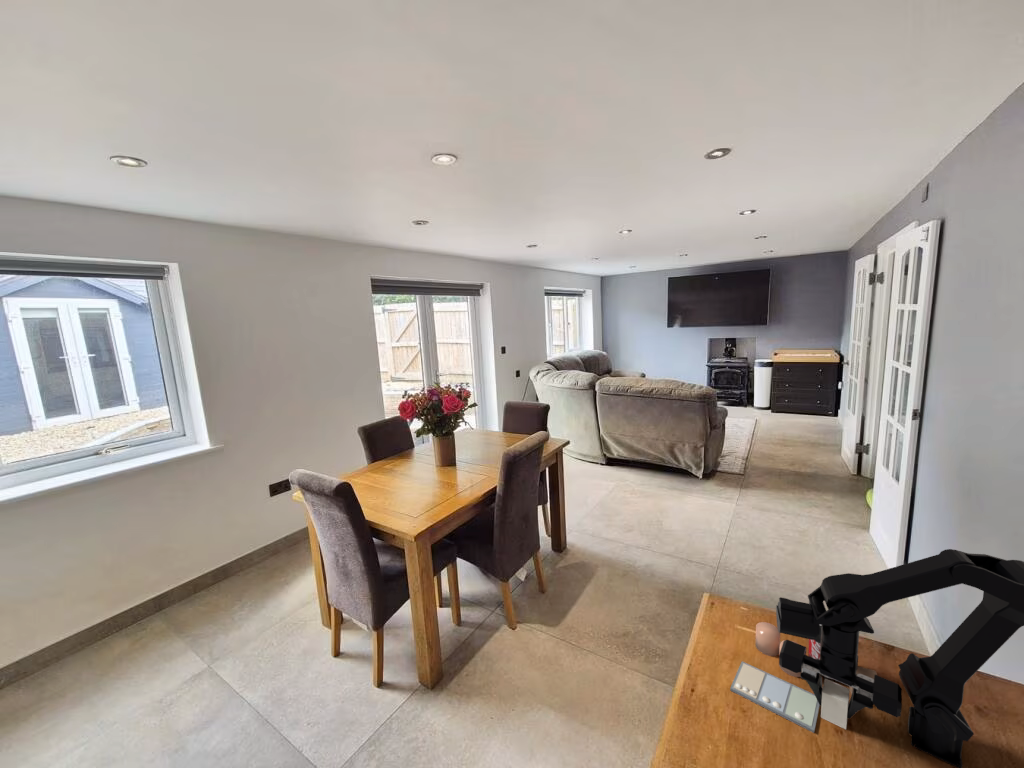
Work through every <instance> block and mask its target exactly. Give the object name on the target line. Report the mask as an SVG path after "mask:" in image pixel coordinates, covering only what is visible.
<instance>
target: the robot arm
mask: <svg viewBox="0 0 1024 768" xmlns="http://www.w3.org/2000/svg"><path fill="white" fill-rule="evenodd" d="M959 585H965V586H969V587H972V588H975V589H978V590H979V591H982V592H983V594H982V595H983V596H982V600H981V601H980V602H979V604H978V605H977V606H976V607H975V608H974V609H973V610H972V611H971V612H970V613H969V614H968V616H966V618H965V619H964V620H963V621H962V622H961V624H960V625H958V626H957V628H956V629H955V630H954V631H953V632H952V633H951V634H950V636H949V637H948V638H946V639H945V640H944V642H943V643H942V644H941V645H940V646H939V647H938V648H937V649H936V651H934V653H933V654H932V655H930V656H925V657H919V656H918V655H916V654H914V653H912V652H910V654H908V656H907V658H906V659H905V661H903V662H902V663H900V664H898V667H899V672H898V676H899V679H900V681H901V683H902V685H903V688H904V690H905V692H906V693H907V696H908V697H909V700H910V702H911V704H912V706H909V709H908V710H909V711H908V720H907V733H908V735H909V736H910V739H911V740H910V745H911V746H912V747H913V748H915V749H917V750H919V751H921V752H923V753H926V754H928V755H930V756H933V758H937V759H938V760H940V761H943V762H945V763H947V764H950V765H951V766H954V767H956V768H963V759H962V752H963V751H962V750H963V744H964V741H965V742H969V740H970V739H971V738H972V737H973V736H974V735H975V733H974V732H973V729H972V728H971V726H970V724H969V723H968V722H967V720H966V718H965V716H964V715H963V713H962V712H961V710H960V708H961V707H962V705H963V702H964V701H963V700H964V693H965V692H964V690H965V685H966V683H967V682H968V681H969V680H970V679H971V678H972V677H973V676H974V675H975V674H976V673H977V672H978V670H980V669H981V668H982V667H983V665H985V664H986V662H988V660H989V659H991V657H992V656H993V655H994V654H995V653H997V651H999V650H1000V648H1002V647H1003V646H1004V644H1006V642H1007V641H1008V640H1009V639H1010V638H1012V636H1014V634H1015V633H1016V632H1017V631H1018V630H1019V629H1020V628H1022V627H1024V561H1023V560H1019V559H1008V560H1007V559H1004V558H1001V557H998V556H993V555H989V554H985V553H982V554H981V553H969V552H964V551H961V550H957V549H951V548H950V549H949V548H948V549H944V550H941V551H940V552H939V553H938V554H936V555H932V556H931V555H930V556H929V557H925V558H922V559H918V560H914V561H910V562H907V563H905V564H901V565H896V566H895V567H890V568H887V569H884V570H880V571H877V572H873V573H869V574H859V573H858V574H857V573H849V572H848V573H842V574H834V575H829V576H827V577H825V578H824V579H822V581H821V584H820V585H819V586H818V587H817V588H816V589H814V590H813V591H812V592H811V593H809V594H808V595H807V599H808V603H807V602H802V601H796V600H792V599H789V598H786V597H779V598H778V599H779V600H778V602H777V604H776V606H775V607H776V608H775V609H776V615H775V616H776V627H777V628H778V632H779V633H780V634H784V635H789V636H792V637H797V638H802V639H806V640H809V639H810V640H815V642H817V643H820V659H814V658H812V657H809V656H808V655H807V647H806V646H804V645H802V644H800V643H798V642H796V641H794V642H792V641H793V640H789V639H784V640H785V641H784V640H783V641H784V642H783V645H782V648H781V651H780V656H779V655H778V665H779V664H780V665H781V667H783V668H786V669H788V670H790V671H792V672H795V673H799V672H801V674H800V676H801V677H800V678H801V679H802V680H804V681H805V682H806V683H807V684H808V686H809V688H810V689H811V691H812V692H813V694H815V697H816V699H817V701H818V703H819V705H820V706H819V707H821V704H822V690H823V677H822V675H825V676H827V677H829V678H828V679H830V678H832V679H831V680H835V681H836V682H839V683H842V684H844V685H846V686H848V687H849V686H851V687H853V691H852V695H851V694H850V697H849V706H848V712H847V720H851V719H852V717H854V716H855V715H856V714H857V713H858V712H859V711H861V710H863V709H865V708H866V709H869V710H873V708H874V707H875V708H876V709H877V710H880V711H881V712H883V713H886V714H888V715H890V716H893V717H895V718H901V716H902V707H903V705H902V703H903V688H902V687H901V685H900V684H899V683H897V682H894V681H892V680H890V679H887V678H885V677H882V676H880V675H878V674H877V675H874V679H872V678H870V677H868V676H865V675H863V674H856V670H857V668H858V666H859V665H858V664H859V655H858V654H859V641H860V639H859V638H860V632H862V633H867V634H872V635H873V634H875V630H874V629H873V626H872V624H871V622H870V620H869V617H871V616H873V615H875V614H876V613H877V612H878V611H879V610H880V609H881V607H882V606H884V605H886V604H888V603H893V602H897V601H900V600H904V599H908V598H911V597H916V596H920V595H923V594H927V593H931V592H934V591H935V592H936V591H939V590H943V589H947V588H951V587H953V586H959ZM825 605H826V606H825ZM820 625H822V626H820ZM795 642H796V643H795ZM797 643H798V644H797ZM805 654H806V655H805ZM827 677H826V678H827ZM873 704H874V705H873Z"/></svg>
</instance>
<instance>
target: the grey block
mask: <svg viewBox="0 0 1024 768" xmlns="http://www.w3.org/2000/svg"><path fill="white" fill-rule="evenodd" d="M822 686H823V690H822V704H821V706H820V718H821V719H823V720H825V721H828V722H829V723H831V724H833V725H836V726H838V727H840V728H841V729H844V730H847V725H848V718H847V712H848V706H849V702H850V694H851V691H850V688H849V687H846V686H844V685H842V684H839V683H837V682H836V681H835V682H834V681H833V680H830V679H829V678H827V677H824V681H823V684H822Z"/></svg>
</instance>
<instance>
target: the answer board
mask: <svg viewBox="0 0 1024 768" xmlns="http://www.w3.org/2000/svg"><path fill="white" fill-rule="evenodd" d="M730 685H731V686H730V689H729V690H730V692H732V693H735V694H736V695H739V696H740V697H742V698H745V699H746V700H748V701H750V702H752V703H754V704H756V705H757V706H760V707H762V708H764V709H766V710H768V711H770V712H772V713H773V714H775V715H778V716H780V717H782V718H784V719H786V720H788V721H790V722H792V723H793V724H796V725H798V726H800V727H801V728H804V729H805V730H807V731H809V732H811V733H812V734H814V733H815V731H816V725H817V721H818V715H819V710H820V707H821V706H820V705H819V703H818V701H817V699H816V697H815V694H814V693H812V692H810V691H808V690H806V689H803V688H802V687H799V686H797V685H795V684H793V683H792V682H791V683H790V682H788V681H786V680H785V679H781V678H780V677H777V676H776V675H773V674H770V673H769V672H767V671H764V670H763V669H761V668H757V667H756V666H753V665H751V664H749V663H747V662H746V661H743V660H742V661H741V663H740V665H739V667H738V669H737V671H736V673H735V676H734V678H733V681H732V683H731V684H730Z"/></svg>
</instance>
